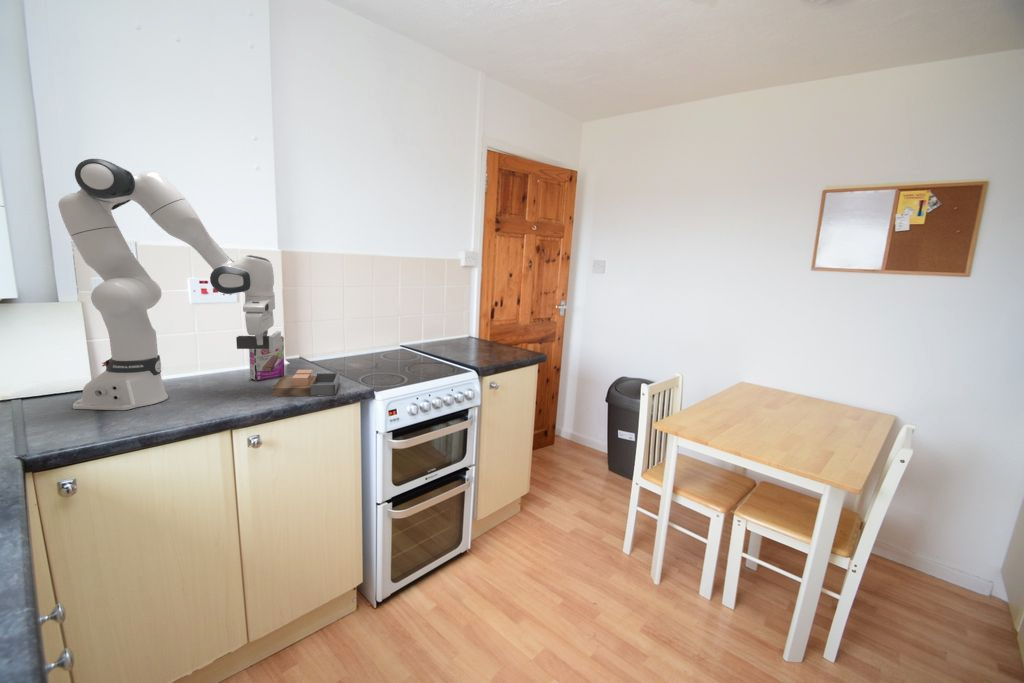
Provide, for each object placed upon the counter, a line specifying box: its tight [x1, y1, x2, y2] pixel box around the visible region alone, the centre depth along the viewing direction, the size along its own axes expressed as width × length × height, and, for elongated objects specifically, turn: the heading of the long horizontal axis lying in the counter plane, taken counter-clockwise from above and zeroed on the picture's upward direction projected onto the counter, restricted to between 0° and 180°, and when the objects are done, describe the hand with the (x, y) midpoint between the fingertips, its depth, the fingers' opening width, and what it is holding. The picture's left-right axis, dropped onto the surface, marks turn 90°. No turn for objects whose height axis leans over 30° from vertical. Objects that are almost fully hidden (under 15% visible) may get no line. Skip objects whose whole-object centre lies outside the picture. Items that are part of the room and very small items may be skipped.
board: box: [272, 375, 317, 398], centre depth 160 cm, size 12×15×3 cm
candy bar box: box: [248, 334, 285, 382], centre depth 171 cm, size 11×5×16 cm, turn 144°
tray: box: [310, 372, 341, 397], centre depth 163 cm, size 8×16×4 cm, turn 16°
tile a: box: [292, 374, 310, 386], centre depth 157 cm, size 5×5×3 cm
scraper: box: [235, 330, 282, 352], centre depth 154 cm, size 12×12×5 cm
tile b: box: [294, 369, 314, 381], centre depth 163 cm, size 5×5×3 cm
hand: (262, 343), depth 154 cm, fingers closed on scraper, 3 cm apart
